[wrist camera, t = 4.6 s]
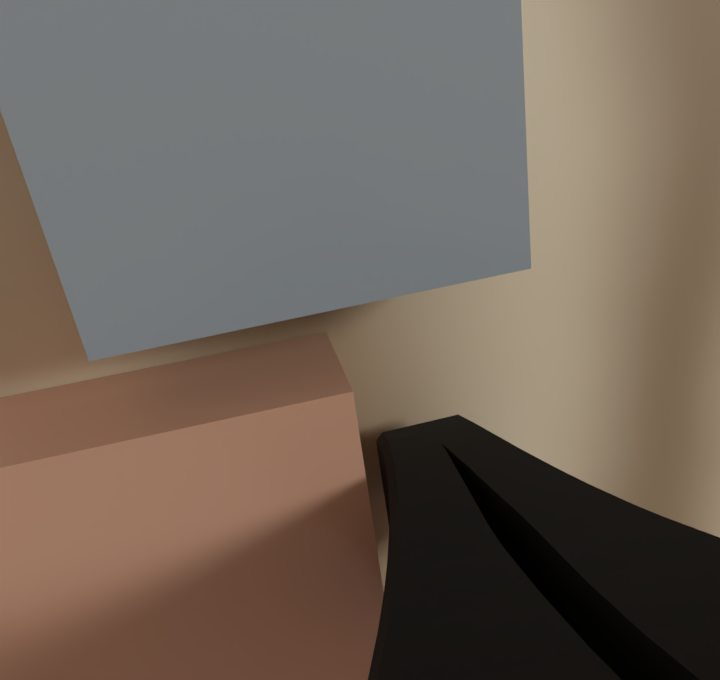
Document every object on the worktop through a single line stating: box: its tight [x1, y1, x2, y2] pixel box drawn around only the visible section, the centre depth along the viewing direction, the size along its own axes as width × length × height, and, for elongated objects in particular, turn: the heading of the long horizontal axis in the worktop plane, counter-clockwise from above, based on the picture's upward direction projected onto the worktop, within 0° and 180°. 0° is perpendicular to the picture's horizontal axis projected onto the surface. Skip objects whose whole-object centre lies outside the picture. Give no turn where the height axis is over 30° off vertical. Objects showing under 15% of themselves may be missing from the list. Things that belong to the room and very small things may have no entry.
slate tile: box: [0, 0, 531, 361], centre depth 7 cm, size 5×5×2 cm
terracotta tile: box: [0, 332, 384, 680], centre depth 9 cm, size 5×5×2 cm
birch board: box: [0, 0, 720, 591], centre depth 10 cm, size 16×21×3 cm
